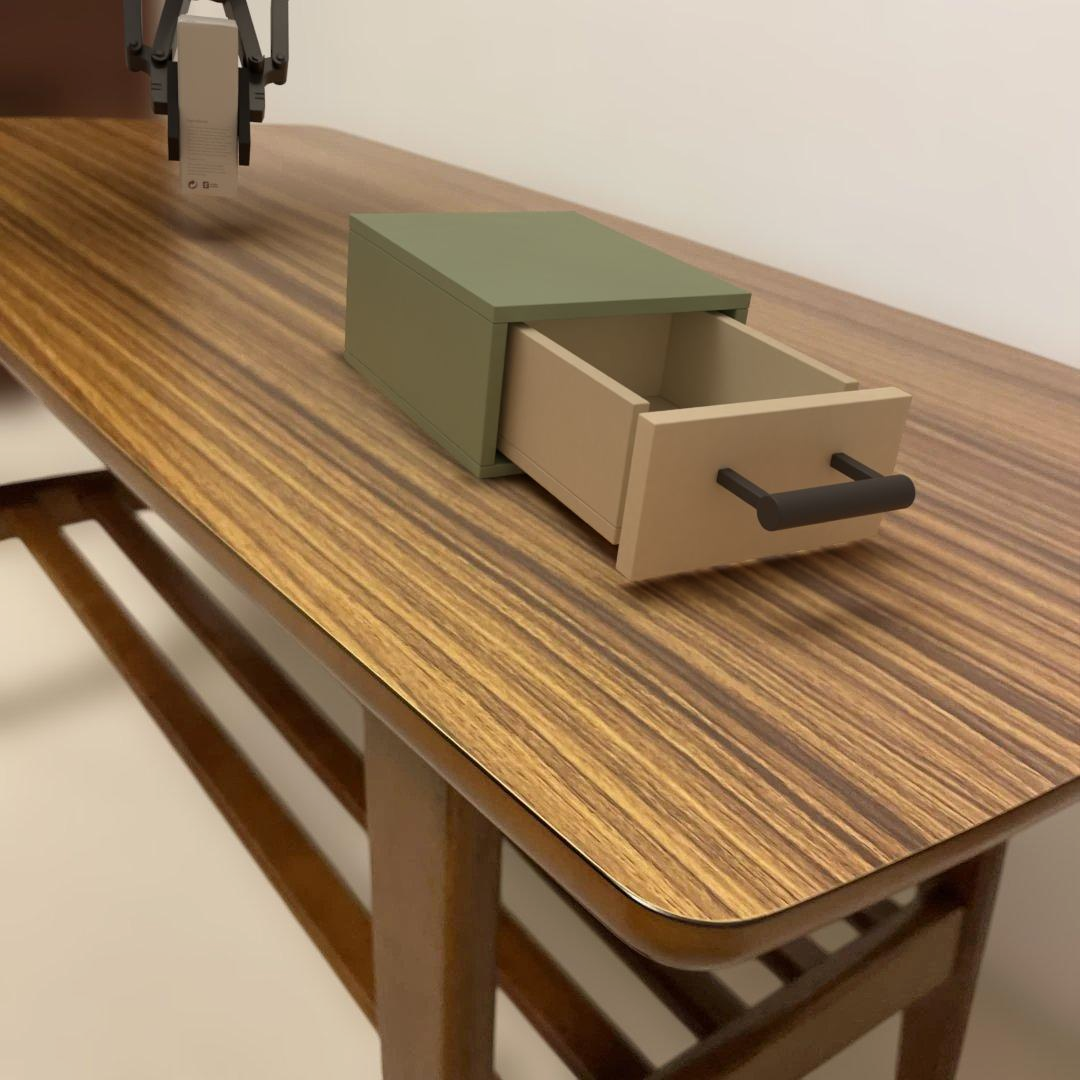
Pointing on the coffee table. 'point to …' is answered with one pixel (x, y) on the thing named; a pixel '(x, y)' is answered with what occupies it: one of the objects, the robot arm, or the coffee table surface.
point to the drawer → (698, 438)
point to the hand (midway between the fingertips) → (209, 151)
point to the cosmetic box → (208, 105)
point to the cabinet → (492, 306)
